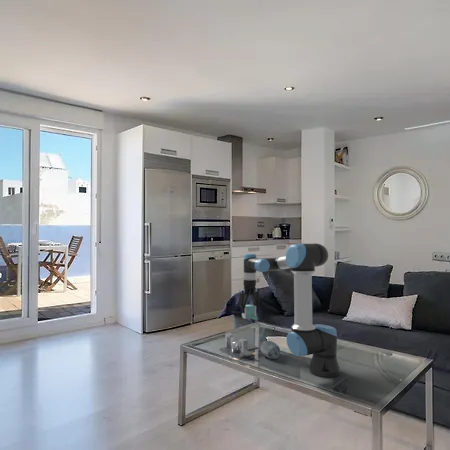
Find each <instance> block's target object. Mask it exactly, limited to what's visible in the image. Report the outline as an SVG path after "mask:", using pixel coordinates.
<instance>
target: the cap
mask: <svg viewBox="0 0 450 450" xmlns="http://www.w3.org/2000/svg"><path fill="white" fill-rule="evenodd" d="M245 307H246V319H247V320H254V321H256V320H258V317H257V316H256V317H255V305H253V304H246V306H245ZM241 316H242V313H241Z"/></svg>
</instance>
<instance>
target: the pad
mask: <svg viewBox="0 0 450 450" xmlns="http://www.w3.org/2000/svg"><path fill="white" fill-rule="evenodd" d="M240 348H242V345H240ZM256 349H259V347H258V346H256V345H254V344H252V343H248V351H251V350H256Z"/></svg>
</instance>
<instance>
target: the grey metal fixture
mask: <svg viewBox="0 0 450 450" xmlns="http://www.w3.org/2000/svg"><path fill="white" fill-rule="evenodd" d="M224 334H225V338H224V343H225V344H224V347H220V348H219V349H218V350H219V351H220V352H223V353H225V354H227V355H229V356H231V357H233V358H235V359H236V360H237V359H238V360H239V359H243V358H246V357H248V358H249V357H251V356H254V353H253V352H251V351H250V350H248V344H249V343H248V342H249V341H248V339H246V338H240V339H238V340H233V341H232V338H234V334H233V333H230V332H228V333H224ZM240 346H242V348H241V347H240Z"/></svg>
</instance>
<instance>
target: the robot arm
mask: <svg viewBox="0 0 450 450" xmlns="http://www.w3.org/2000/svg"><path fill="white" fill-rule="evenodd" d="M328 259H329V252H328V249H327V248H326V246H324V245H322V244H321V243H301V242H300V243H293V244H291V245H290V246H288V248H287V250H286V253H285V255H283V256H278V257H262V258H259V257H257V255H256V254H255V253H245V254H244V256H243V283H242V284H243V289H240V290H239V300H238V301H239V302H238V306H239V307H240V308H241V314H242V315H241V316H242V319H246V307H245V306H246V305H247V302H248V299H249V297H251V300H252V305H255V317H257V311H258V307H259V306H260V305H261V304H260V302H261V301H260V288H258V287H256V286H257V280H256V279H257V272H259V273H266V272H272V271H273V272H274V271H285V270H287V269H290V272H291V273H292V274H293V301H294V302H293V304H294V307H293V309H294V313H293V314H294V317H293V318H294V320H293V321H294V323H293V324H292V325H291V331H290V332H288V333H287V335H286V346H287V347H288V350H289V351H290V353H292V355H294V356H295V357H307V356H309V355H312V357H311V359H310V362H309V366H308V370H309V372H310V373H311V374H312V375H315V376H318V377H322V378H334V377H338V376H340V375H341V367H340V365H339V361H338V358H337V357H338V356H337V353H338V351H337V350H338V334H337V333H338V331H337V329H336V328H335V327H333V326H331V325H327V324H322V323H321V324H319V323H315V324H313V287H312V286H313V283H312V281H313V279H312V277H313V276H312V275H313V274H314V272H315V271H316V267H321V266H324V265H325V264H326V262H327V261H328Z"/></svg>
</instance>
